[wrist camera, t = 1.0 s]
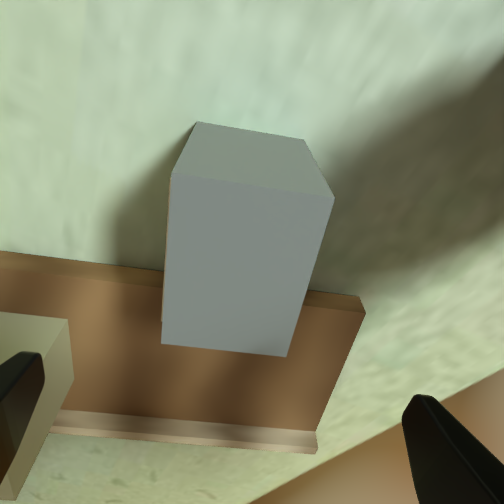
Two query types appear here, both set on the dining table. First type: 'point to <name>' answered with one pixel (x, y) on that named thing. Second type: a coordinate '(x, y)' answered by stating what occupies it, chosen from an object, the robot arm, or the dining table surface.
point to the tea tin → (241, 239)
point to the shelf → (178, 361)
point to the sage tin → (53, 393)
